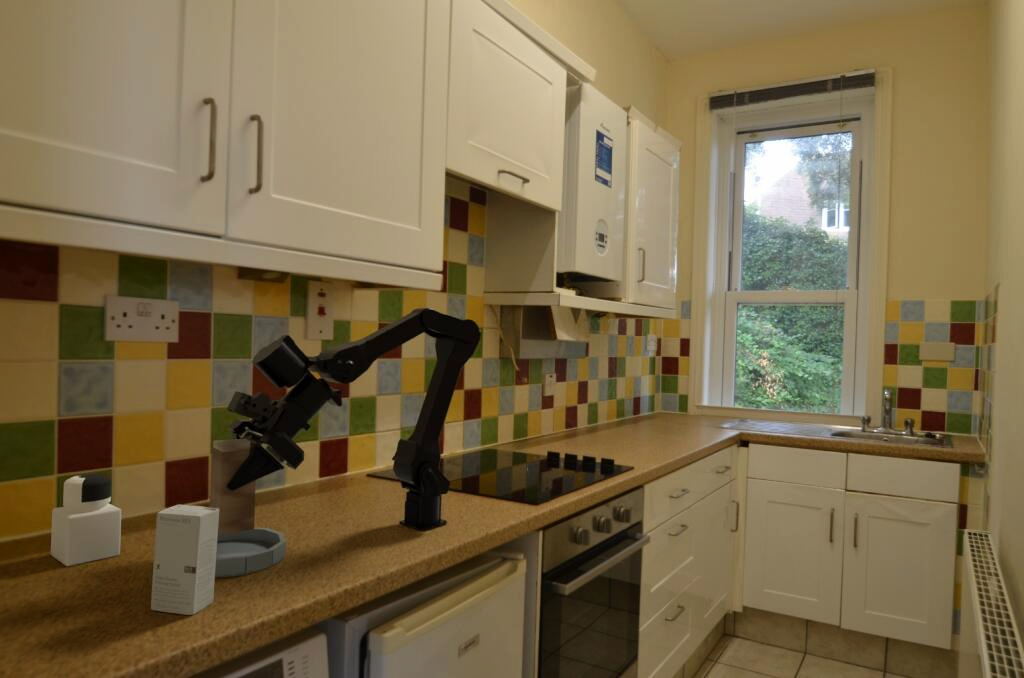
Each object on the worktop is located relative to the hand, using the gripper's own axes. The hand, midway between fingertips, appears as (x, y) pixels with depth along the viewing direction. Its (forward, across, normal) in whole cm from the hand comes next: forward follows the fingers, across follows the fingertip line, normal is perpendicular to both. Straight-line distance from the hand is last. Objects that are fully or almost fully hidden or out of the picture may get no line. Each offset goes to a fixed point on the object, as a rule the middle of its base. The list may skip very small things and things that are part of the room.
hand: (223, 485), depth 97 cm
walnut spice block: (+4, 0, +6) cm, 7 cm away
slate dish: (+7, -1, +9) cm, 12 cm away
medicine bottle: (+19, -14, -3) cm, 24 cm away
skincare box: (+14, +14, +2) cm, 20 cm away
